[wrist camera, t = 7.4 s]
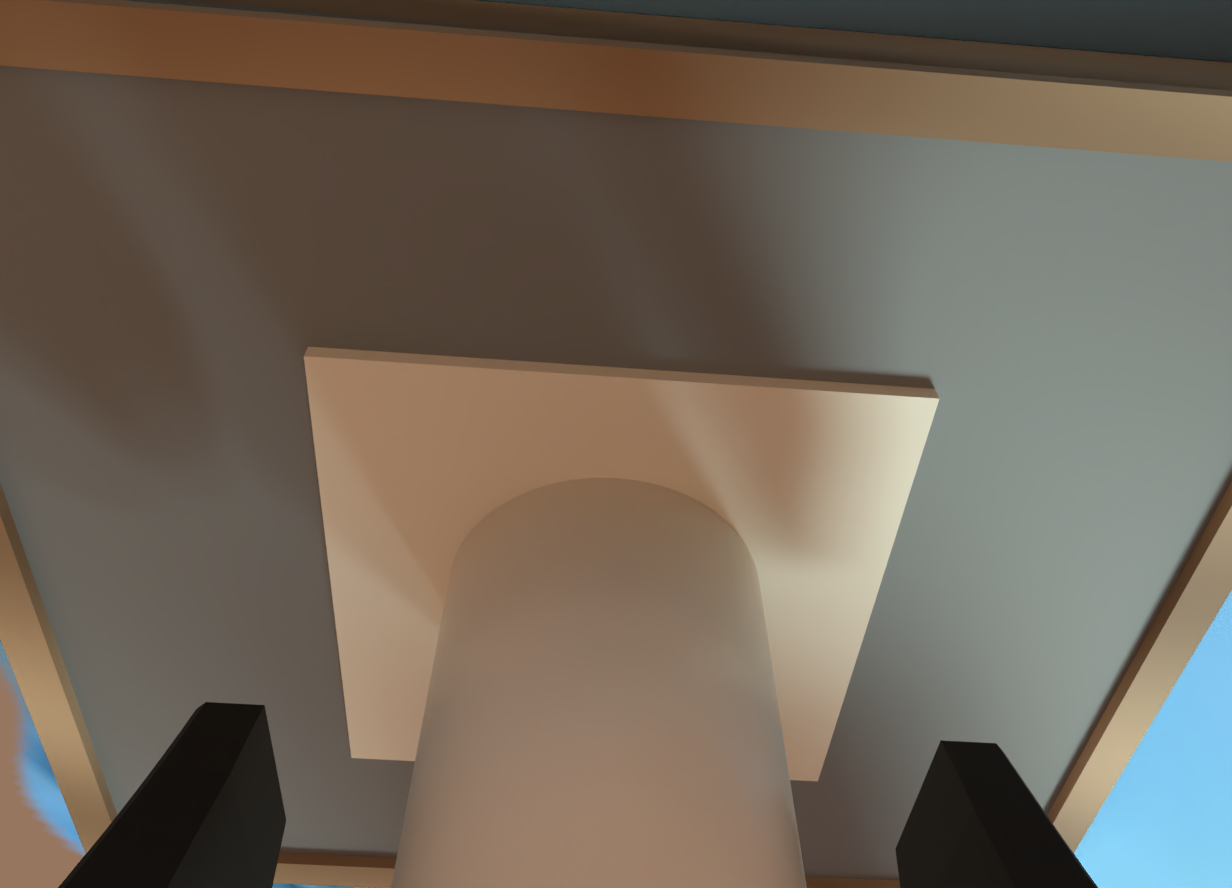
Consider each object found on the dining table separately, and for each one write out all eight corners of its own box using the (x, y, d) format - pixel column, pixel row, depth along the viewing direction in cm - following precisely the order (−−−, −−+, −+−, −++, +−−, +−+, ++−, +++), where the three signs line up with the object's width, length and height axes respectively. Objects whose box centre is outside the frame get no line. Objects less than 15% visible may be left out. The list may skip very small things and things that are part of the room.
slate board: (1014, 853, 19) (1035, 916, 18) (122, 811, 18) (94, 874, 17) (1432, 78, 11) (1513, 119, 10) (-179, -54, 10) (-265, -25, 9)
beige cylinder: (734, 707, 15) (807, 1348, 9) (451, 692, 14) (345, 1337, 9) (784, 488, 12) (923, 1172, 7) (445, 467, 12) (294, 1153, 6)
